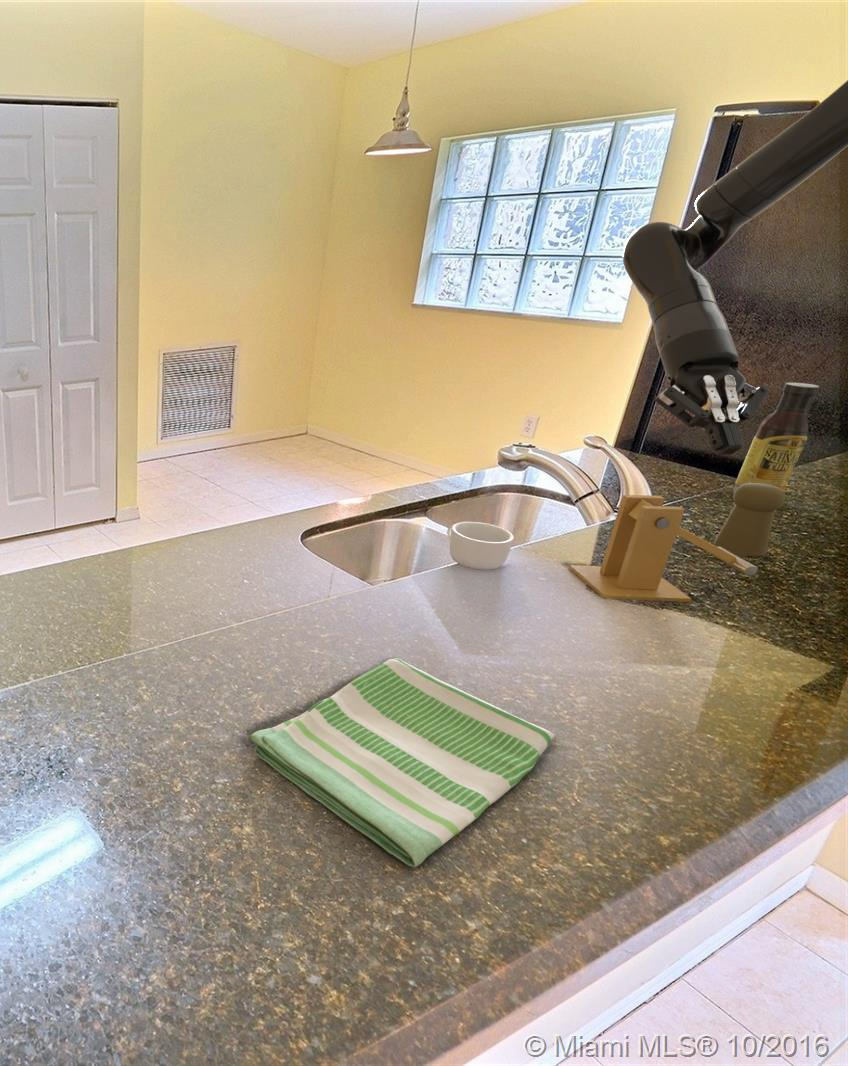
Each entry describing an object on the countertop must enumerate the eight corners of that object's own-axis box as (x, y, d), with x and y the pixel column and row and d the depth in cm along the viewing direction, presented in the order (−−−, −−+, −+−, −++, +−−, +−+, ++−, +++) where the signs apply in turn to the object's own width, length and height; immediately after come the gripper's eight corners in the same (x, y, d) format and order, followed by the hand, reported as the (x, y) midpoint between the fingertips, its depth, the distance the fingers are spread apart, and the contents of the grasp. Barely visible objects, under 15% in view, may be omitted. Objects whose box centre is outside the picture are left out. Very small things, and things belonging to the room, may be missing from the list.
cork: (711, 544, 107) (736, 475, 103) (765, 555, 103) (794, 484, 99) (706, 556, 103) (732, 486, 99) (763, 568, 99) (792, 495, 95)
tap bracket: (645, 576, 98) (674, 490, 93) (688, 608, 90) (722, 515, 85) (567, 573, 100) (591, 489, 95) (601, 604, 92) (629, 513, 87)
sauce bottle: (747, 503, 121) (791, 388, 113) (722, 491, 127) (762, 380, 119) (791, 504, 120) (839, 388, 112) (764, 491, 126) (807, 380, 118)
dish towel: (242, 749, 69) (244, 727, 68) (386, 669, 80) (390, 649, 79) (413, 875, 55) (419, 849, 54) (559, 757, 66) (566, 734, 65)
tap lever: (715, 560, 95) (729, 546, 94) (747, 581, 89) (764, 566, 88) (619, 508, 94) (633, 494, 93) (646, 526, 89) (661, 510, 88)
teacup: (518, 573, 101) (527, 539, 99) (472, 580, 99) (480, 546, 97) (465, 546, 110) (472, 514, 108) (423, 552, 108) (429, 520, 106)
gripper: (660, 327, 97) (694, 437, 90) (768, 324, 95) (811, 437, 89) (625, 360, 104) (655, 464, 97) (725, 358, 102) (762, 464, 95)
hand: (729, 451), depth 93 cm, fingers closed
